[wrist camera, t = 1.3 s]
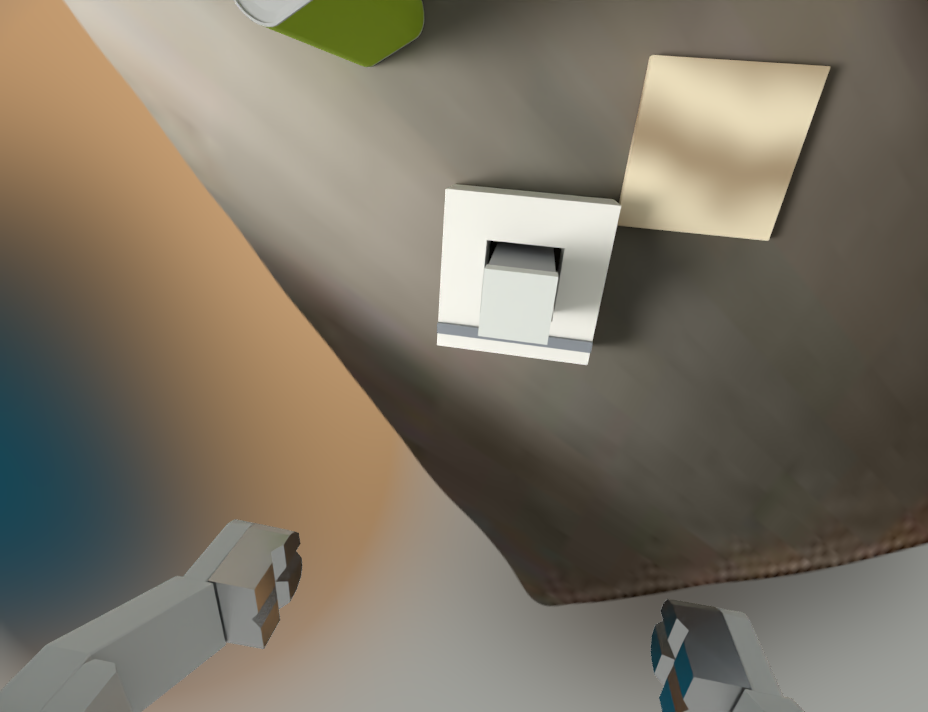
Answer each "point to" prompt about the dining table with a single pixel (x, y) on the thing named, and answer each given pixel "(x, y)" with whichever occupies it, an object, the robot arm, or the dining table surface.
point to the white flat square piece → (534, 223)
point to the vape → (343, 24)
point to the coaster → (717, 144)
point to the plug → (518, 293)
